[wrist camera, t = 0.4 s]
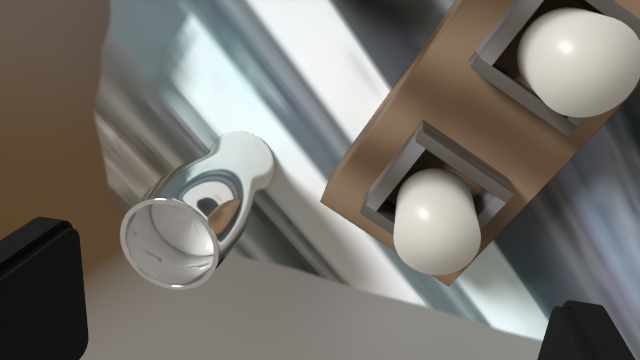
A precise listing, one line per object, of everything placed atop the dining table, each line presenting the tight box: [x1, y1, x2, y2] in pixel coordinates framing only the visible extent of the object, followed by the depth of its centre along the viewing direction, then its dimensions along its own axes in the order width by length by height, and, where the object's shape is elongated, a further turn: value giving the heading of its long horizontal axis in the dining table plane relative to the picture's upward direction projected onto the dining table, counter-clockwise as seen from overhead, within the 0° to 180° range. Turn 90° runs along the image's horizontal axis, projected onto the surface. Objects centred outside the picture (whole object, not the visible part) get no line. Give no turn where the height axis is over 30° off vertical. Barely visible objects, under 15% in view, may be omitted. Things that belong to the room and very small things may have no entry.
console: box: [320, 0, 640, 287], centre depth 37 cm, size 24×12×9 cm, turn 148°
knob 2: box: [517, 7, 640, 118], centre depth 28 cm, size 5×5×5 cm
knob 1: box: [394, 168, 481, 275], centre depth 33 cm, size 5×5×5 cm
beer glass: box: [120, 131, 275, 290], centre depth 40 cm, size 7×7×15 cm
